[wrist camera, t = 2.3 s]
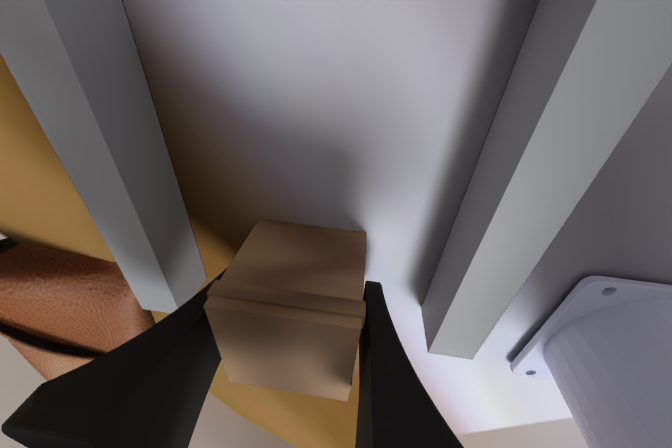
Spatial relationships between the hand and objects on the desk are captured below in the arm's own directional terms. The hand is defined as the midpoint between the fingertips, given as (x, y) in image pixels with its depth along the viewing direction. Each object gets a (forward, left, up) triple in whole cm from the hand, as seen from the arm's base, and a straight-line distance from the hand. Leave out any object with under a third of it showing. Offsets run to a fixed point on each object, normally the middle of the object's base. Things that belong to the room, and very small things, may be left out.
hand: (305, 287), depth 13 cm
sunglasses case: (+15, +10, -2) cm, 18 cm away
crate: (0, 0, -2) cm, 2 cm away
